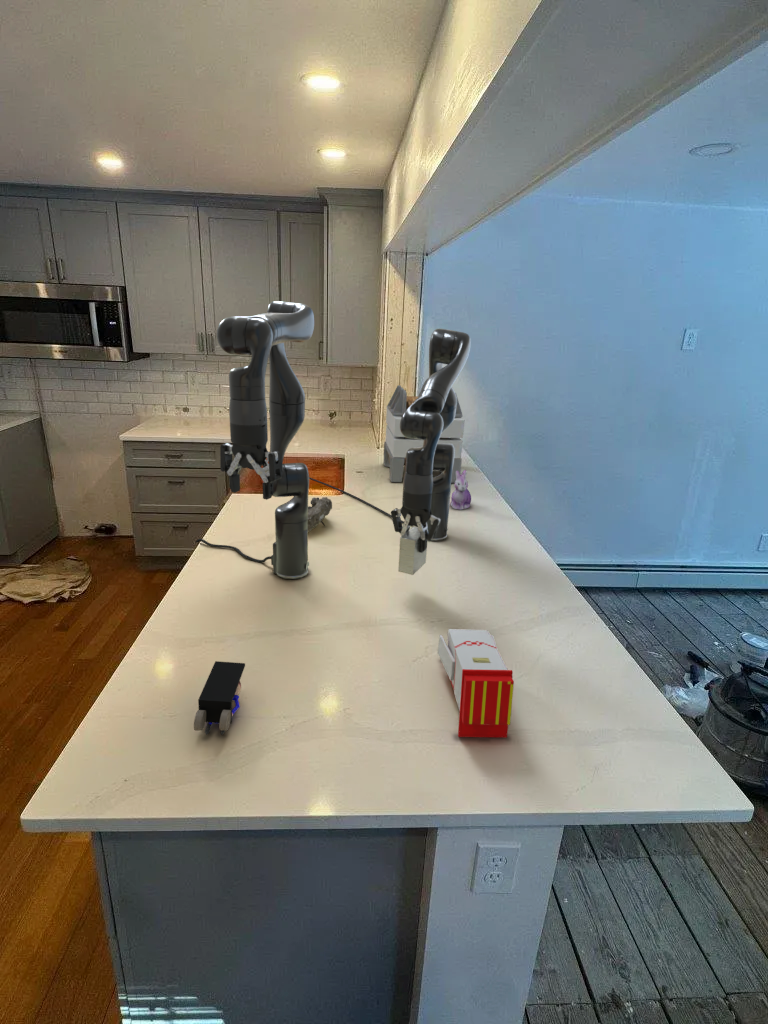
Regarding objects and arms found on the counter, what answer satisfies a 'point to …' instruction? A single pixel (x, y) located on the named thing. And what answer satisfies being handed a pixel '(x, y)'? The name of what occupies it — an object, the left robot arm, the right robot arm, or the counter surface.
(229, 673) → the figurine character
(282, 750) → the counter surface
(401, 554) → the block
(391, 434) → the grey slatted box
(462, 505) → the figurine
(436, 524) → the right robot arm
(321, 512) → the fossil
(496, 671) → the toy
